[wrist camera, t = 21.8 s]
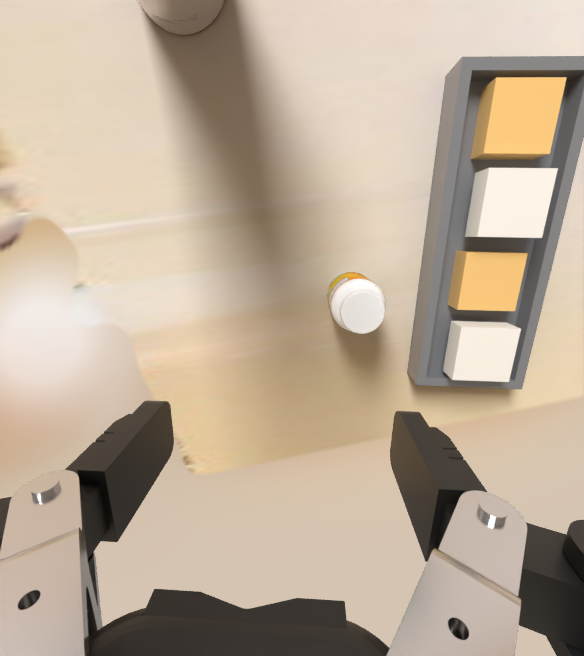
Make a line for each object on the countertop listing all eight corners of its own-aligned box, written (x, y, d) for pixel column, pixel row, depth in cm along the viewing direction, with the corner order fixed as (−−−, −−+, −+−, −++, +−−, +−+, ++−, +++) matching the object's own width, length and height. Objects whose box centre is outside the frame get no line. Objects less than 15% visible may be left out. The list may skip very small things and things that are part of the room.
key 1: (481, 89, 30) (496, 77, 28) (546, 89, 30) (566, 77, 28) (470, 159, 32) (483, 153, 30) (531, 159, 32) (549, 153, 29)
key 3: (455, 250, 35) (467, 252, 32) (512, 252, 34) (527, 253, 32) (447, 304, 36) (457, 309, 34) (501, 306, 36) (515, 311, 34)
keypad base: (445, 75, 31) (462, 56, 28) (571, 75, 31) (603, 56, 28) (407, 372, 40) (416, 385, 37) (503, 376, 40) (521, 389, 37)
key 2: (475, 172, 31) (489, 167, 29) (538, 173, 31) (557, 168, 28) (464, 236, 33) (477, 236, 30) (524, 237, 32) (541, 237, 30)
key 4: (451, 320, 35) (461, 327, 33) (506, 322, 35) (521, 328, 33) (442, 370, 37) (452, 379, 35) (495, 372, 37) (508, 382, 34)
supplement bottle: (381, 293, 38) (406, 312, 28) (349, 324, 39) (362, 352, 30) (349, 261, 37) (364, 270, 28) (317, 295, 38) (321, 314, 29)
